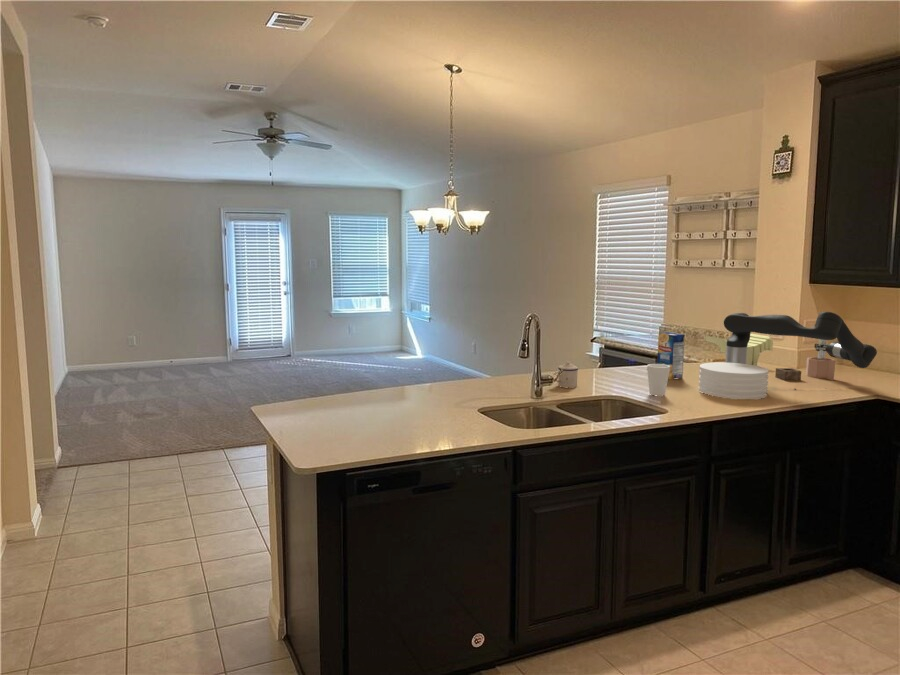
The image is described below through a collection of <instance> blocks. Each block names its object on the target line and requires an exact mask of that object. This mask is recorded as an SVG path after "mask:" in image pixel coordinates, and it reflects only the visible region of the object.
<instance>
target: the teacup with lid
mask: <svg viewBox="0 0 900 675" xmlns="http://www.w3.org/2000/svg"><path fill="white" fill-rule="evenodd" d="M561 369H564V371H563V372H562V374H561V375H560V376H559V375H558V374H559V373H558V372H559V370H561ZM578 371H579V367H577V366H576V365H574V364H573V363H571V361H566V362H565V363H564V364H561V365H559V366H558V371H556V372H555V373H554V374H553V376H554V375H556V374H557V373H558V374H557V375H558V376H559V378H558V377H557V378H558V379H557V380H556V381H555V382H557V383H558V384H557V385H558V387H559V386H561V387H560V388H562V387H575V388H577V387H578ZM557 375H556V376H557Z"/></svg>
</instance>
